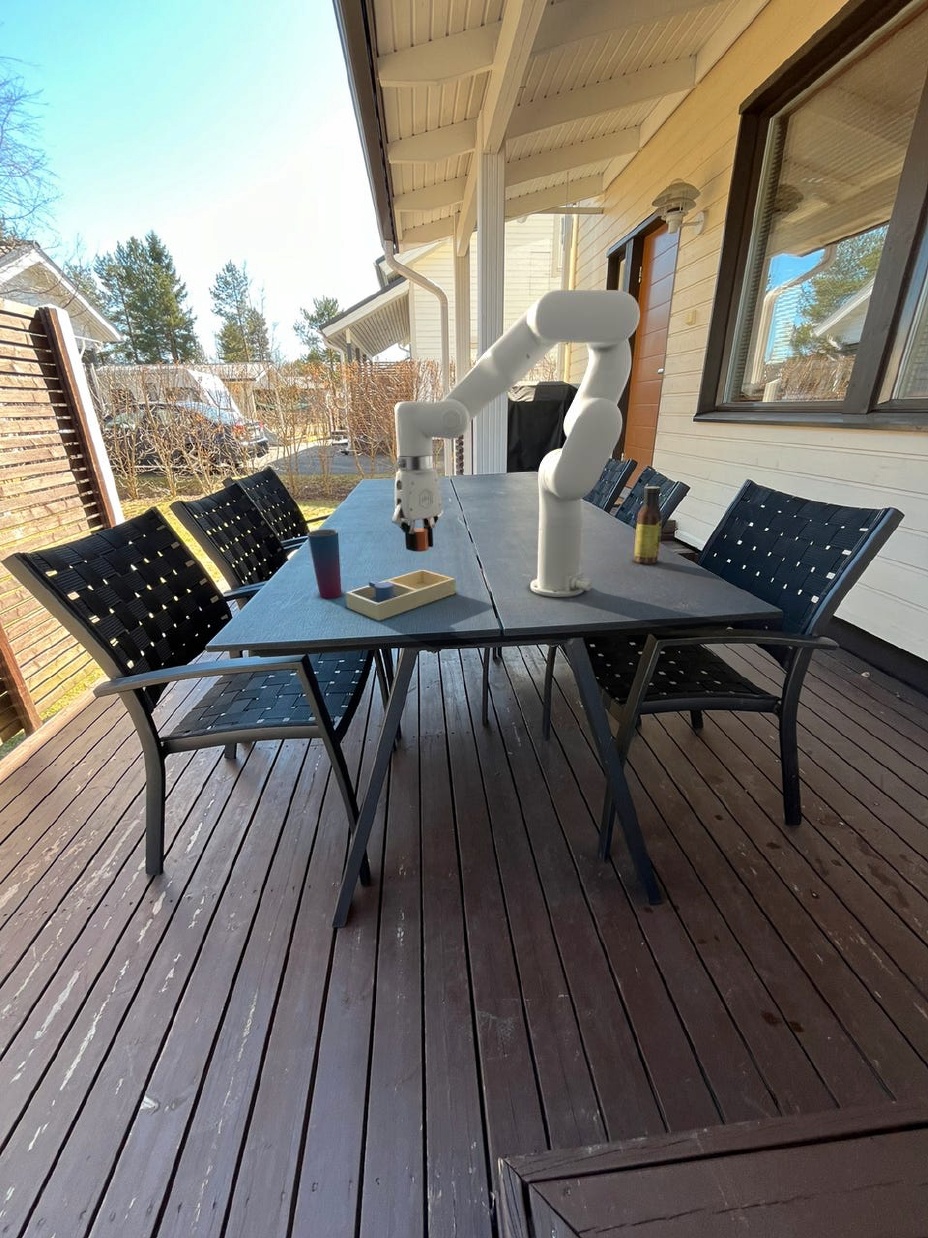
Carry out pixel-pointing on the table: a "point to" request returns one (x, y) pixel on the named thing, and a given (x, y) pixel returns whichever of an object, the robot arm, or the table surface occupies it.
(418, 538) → the orange scoop
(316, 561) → the cup
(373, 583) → the blue scoop
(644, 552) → the sauce bottle
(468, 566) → the table surface
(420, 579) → the sorter
